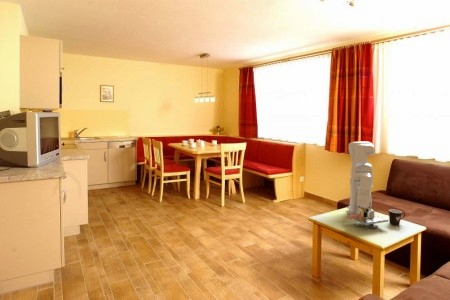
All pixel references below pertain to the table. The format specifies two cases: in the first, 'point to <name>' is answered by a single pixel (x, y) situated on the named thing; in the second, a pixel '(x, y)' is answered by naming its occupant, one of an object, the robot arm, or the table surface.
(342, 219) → the table surface
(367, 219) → the square metal plate
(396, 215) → the coffee mug
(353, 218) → the bracket
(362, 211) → the yellow block
